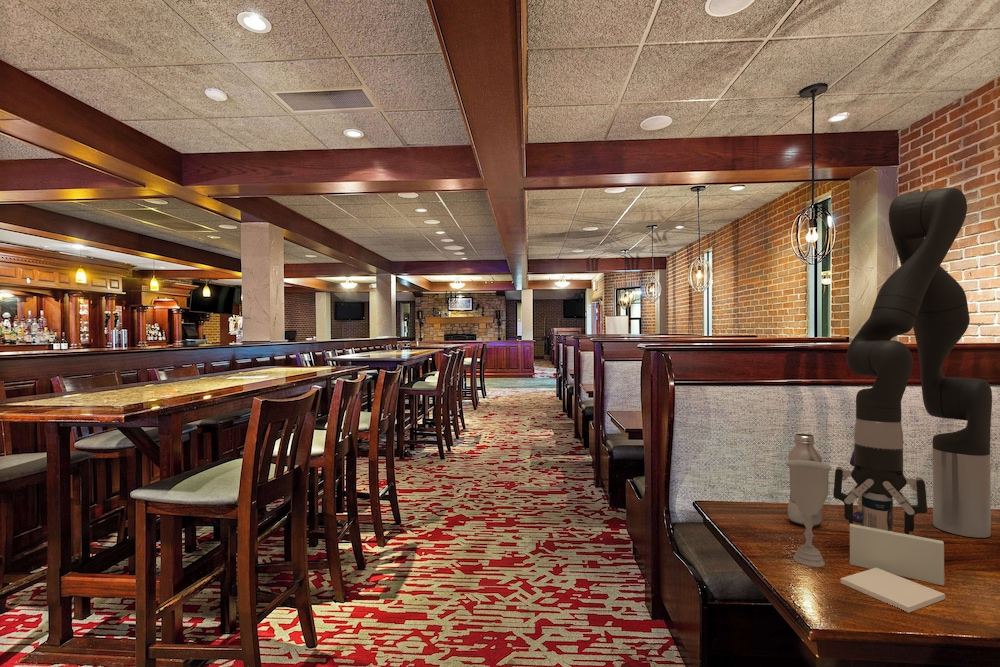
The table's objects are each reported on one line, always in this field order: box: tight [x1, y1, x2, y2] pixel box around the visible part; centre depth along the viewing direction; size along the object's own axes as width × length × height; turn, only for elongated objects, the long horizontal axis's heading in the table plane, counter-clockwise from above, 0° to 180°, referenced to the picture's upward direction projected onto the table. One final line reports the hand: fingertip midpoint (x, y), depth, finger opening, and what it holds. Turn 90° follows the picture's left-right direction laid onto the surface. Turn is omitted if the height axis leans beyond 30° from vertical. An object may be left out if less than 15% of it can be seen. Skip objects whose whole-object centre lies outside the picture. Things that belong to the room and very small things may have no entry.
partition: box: [849, 523, 945, 587], centre depth 88 cm, size 13×2×7 cm, turn 52°
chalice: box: [786, 460, 833, 568], centre depth 93 cm, size 7×7×18 cm
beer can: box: [861, 492, 894, 532], centre depth 96 cm, size 5×5×12 cm
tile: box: [840, 568, 946, 614], centre depth 82 cm, size 10×10×1 cm
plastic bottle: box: [787, 433, 823, 527], centre depth 111 cm, size 6×7×20 cm
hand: (878, 527), depth 95 cm, fingers open, 8 cm apart
